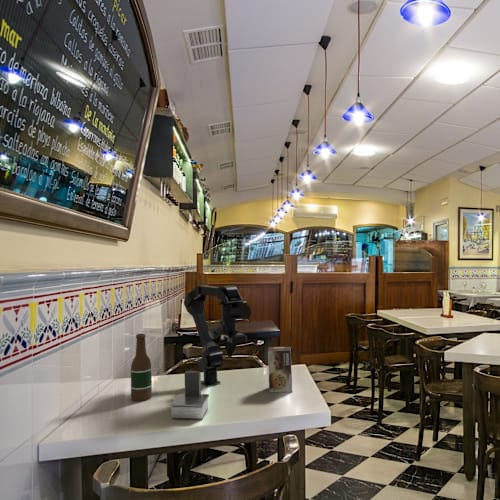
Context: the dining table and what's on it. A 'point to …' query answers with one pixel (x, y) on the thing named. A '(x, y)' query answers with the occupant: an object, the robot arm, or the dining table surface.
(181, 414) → the white flat block
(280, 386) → the grey printed box
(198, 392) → the lid
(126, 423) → the dining table surface
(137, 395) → the beer bottle
